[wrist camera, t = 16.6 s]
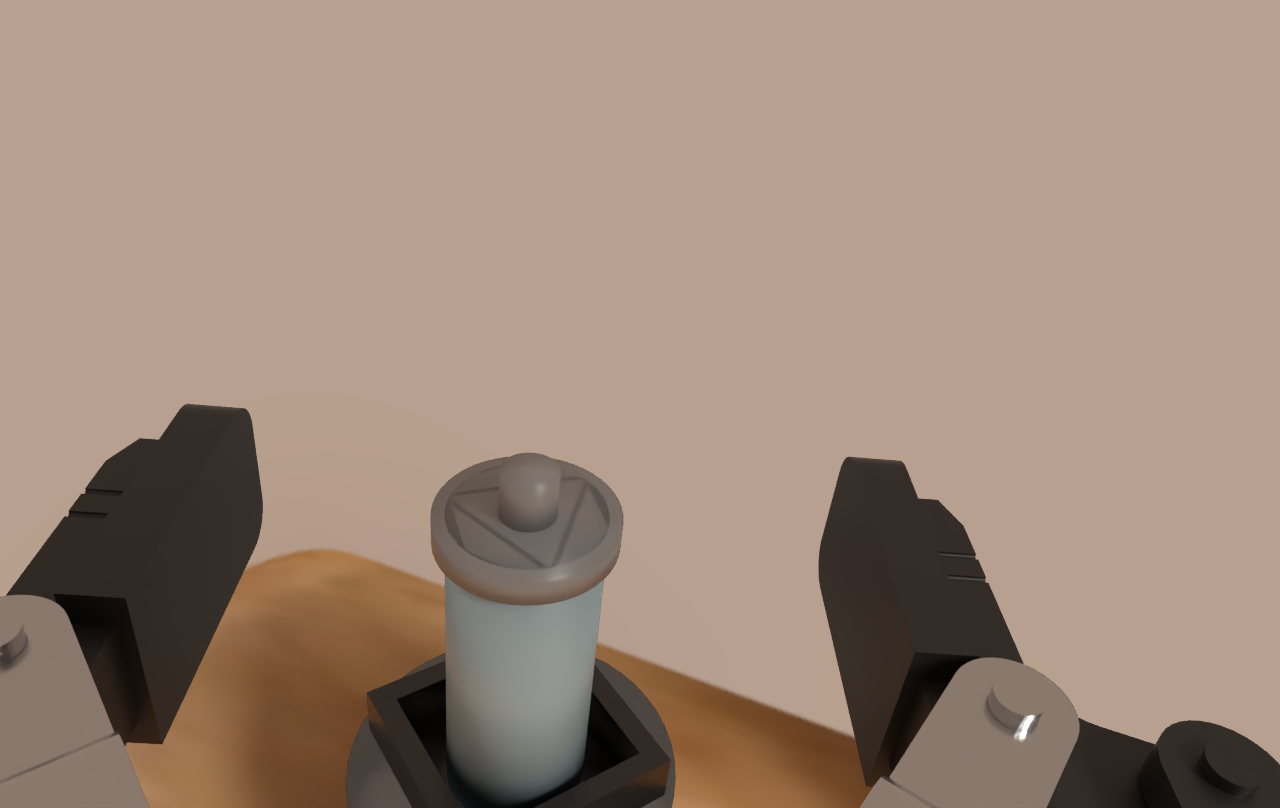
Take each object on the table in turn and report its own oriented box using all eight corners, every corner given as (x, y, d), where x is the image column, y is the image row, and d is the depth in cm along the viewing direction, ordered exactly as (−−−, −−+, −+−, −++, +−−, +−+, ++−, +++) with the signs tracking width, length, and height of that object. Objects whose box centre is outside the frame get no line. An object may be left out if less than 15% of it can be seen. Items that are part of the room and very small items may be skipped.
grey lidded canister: (544, 679, 40) (564, 398, 33) (624, 788, 36) (666, 497, 29) (409, 740, 37) (397, 445, 30) (480, 865, 33) (487, 562, 26)
